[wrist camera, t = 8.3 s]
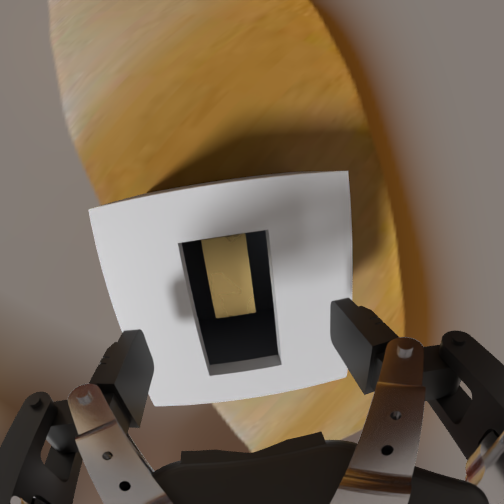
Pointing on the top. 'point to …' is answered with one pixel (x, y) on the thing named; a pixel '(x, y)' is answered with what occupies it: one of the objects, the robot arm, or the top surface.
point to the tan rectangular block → (229, 275)
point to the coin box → (262, 275)
